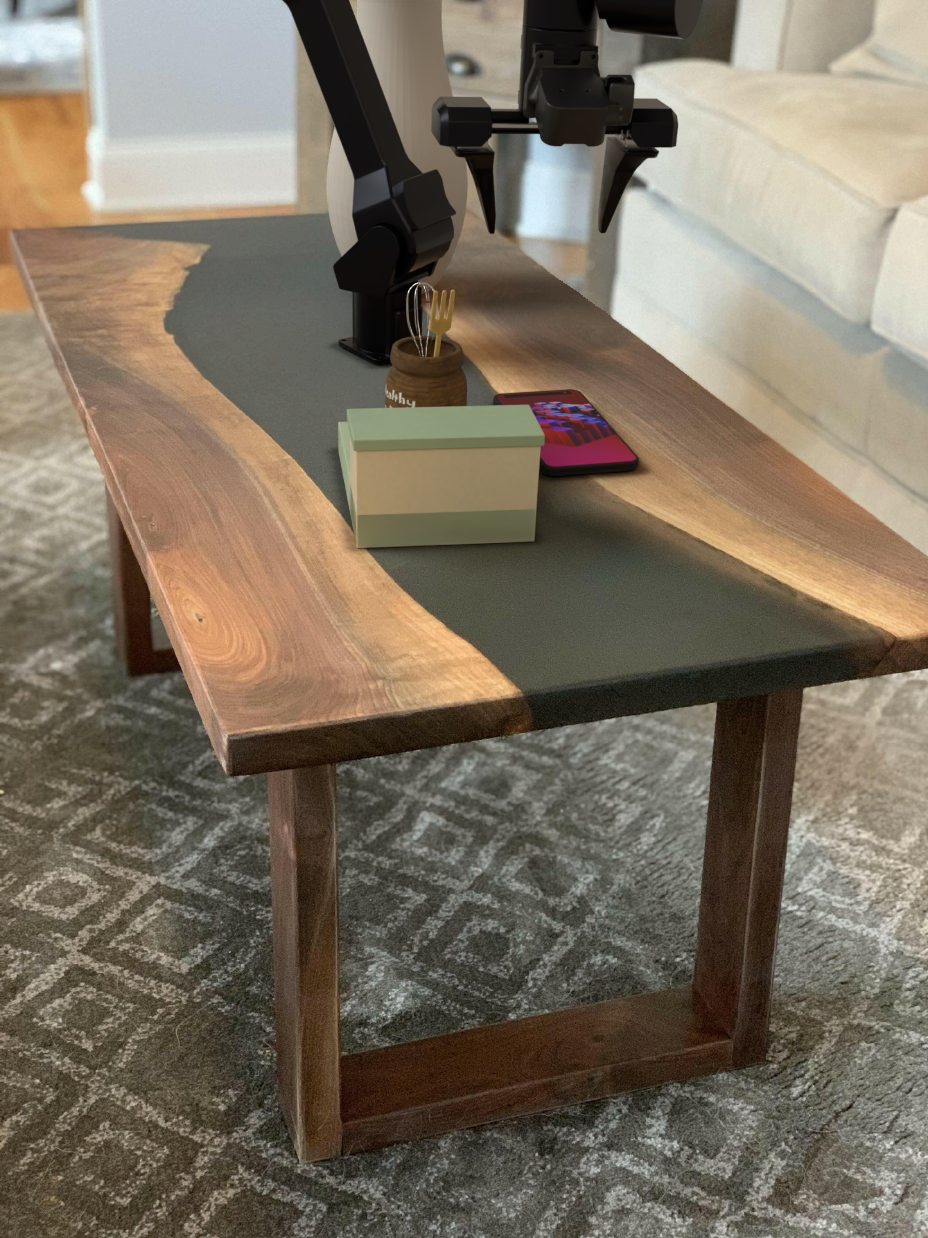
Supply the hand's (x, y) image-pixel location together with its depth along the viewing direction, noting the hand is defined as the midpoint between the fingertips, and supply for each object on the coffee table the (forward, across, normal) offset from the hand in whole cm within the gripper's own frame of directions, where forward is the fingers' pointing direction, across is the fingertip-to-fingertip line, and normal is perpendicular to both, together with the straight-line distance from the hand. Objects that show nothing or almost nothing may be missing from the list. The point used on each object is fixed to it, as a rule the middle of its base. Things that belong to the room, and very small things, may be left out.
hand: (546, 232), depth 114 cm
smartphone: (+13, 0, -12) cm, 18 cm away
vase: (+13, -9, +27) cm, 31 cm away
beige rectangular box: (+13, -12, -22) cm, 28 cm away
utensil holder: (+11, -12, -17) cm, 24 cm away
